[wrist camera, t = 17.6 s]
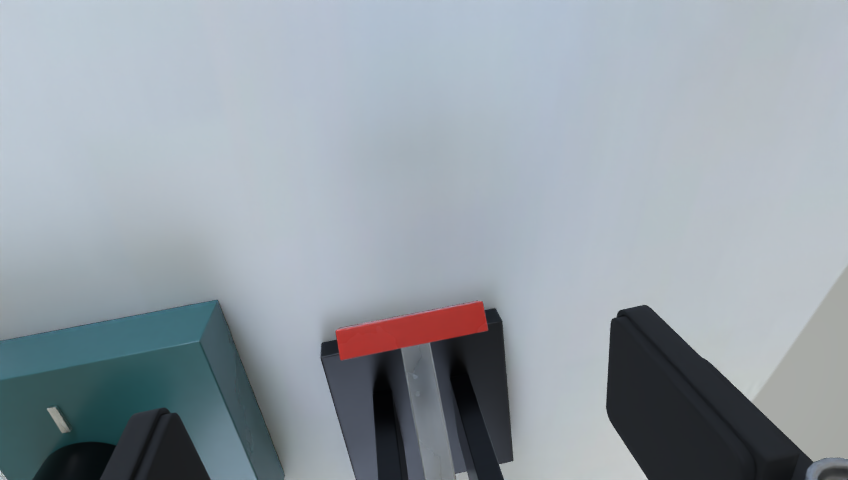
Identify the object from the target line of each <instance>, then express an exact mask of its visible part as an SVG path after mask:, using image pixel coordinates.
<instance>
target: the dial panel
mask: <svg viewBox="0 0 848 480" xmlns="http://www.w3.org/2000/svg"><path fill="white" fill-rule="evenodd" d="M158 408H167V409H168V410H169V411H170V413H177V414H178V415H179V416H180V418H181V420H182V422H183V424H184V426H185V428H186V430H187V432H188V434H189V436H190V438H191V440H192V442H193V444H194V446H195V448H196V451H197V453H198V455H199V457H200V459H201V461H202V463H203V465H204V467H205V469H206V471H207V473H208V475H209V477H210V479H211V480H284V477H285V475H284V472H283V469H282V467H281V464H280V462H279V459H278V456H277V454H276V451H275V449H274V446H273V443H272V441H271V438H270V436H269V433H268V430H267V428H266V425H265V422H264V420H263V417H262V415H261V412H260V409H259V407H258V404H257V402H256V399H255V396H254V394H253V391H252V388H251V386H250V383H249V381H248V378H247V375H246V373H245V370H244V368H243V365H242V362H241V360H240V357H239V354H238V352H237V349H236V347H235V344H234V341H233V339H232V336H231V334H230V331H229V328H228V326H227V323H226V321H225V318H224V315H223V313H222V310H221V307H220V305H219V302H218V300H214V301H208V302H203V303H198V304H193V305H187V306H182V307H177V308H172V309H166V310H161V311H156V312H151V313H145V314H140V315H135V316H130V317H124V318H119V319H114V320H109V321H103V322H98V323H93V324H87V325H82V326H77V327H72V328H66V329H61V330H56V331H51V332H45V333H40V334H35V335H30V336H24V337H19V338H14V339H9V340H3V341H0V470H1V472H2V473H3V474H4V476H5V477H6V478H7V480H32V479H33V478H34V476H35V475H36V473H37V472H38V470H39V469H40V467H41V466H42V464H43V463H44V461H45V460H46V459H47V458H48V457H49V456H50V455H51V454H52V453H53V452H55V451H56V450H58V449H60V448H62V447H65V446H67V445H70V444H74V443H80V442H103V443H108V444H113V445H117V443H118V441H119V439H120V437H121V435H122V433H123V431H124V429H125V427H126V425H127V423H128V421H129V419H130V418H131V416H132V415H133V414H135V413H139V412H144V411H149V410H153V409H158Z"/></svg>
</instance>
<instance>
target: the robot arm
mask: <svg viewBox="0 0 848 480" xmlns="http://www.w3.org/2000/svg"><path fill="white" fill-rule="evenodd" d="M606 409H607V414H608V417H609V419H610V421H611V423H612V425H613V426H614V428H615V429H616V431H617V433H618V434H619V436H620V437H621V439H622V440H623V442H624V443H625V445H626V446H627V448H628V449H629V451H630V452H631V454H632V455H633V457H634V458H635V460H636V461H637V463H638V464H639V466H640V468H641V469H642V471H643V472H644V474H645V475H646V477H647V478H648V480H848V459H844V458H824V459H821V460H818V461H816V462H813V461H812V460H811V459H810V458H809V457H808V456H806V454H804V453H803V452H802V451H801V450H800V449H799V448H798V447H797V446H796V445H795V444H794V443H793V442H792V441H791V440H790V439H789V438H788V437H787V436H786V435H785V434H784V433H783V432H782V431H781V430H779V429H778V428H777V427H776V426H775V425H774V424H773V423H772V422H771V421H770V420H769V419H768V418H767V417H766V416H765V415H764V414H763V413H762V412H761V411H760V410H759V409H758V408H757V407H756V406H755V405H754V404H753V403H751V402H750V401H749V400H748V399H747V398H746V397H745V396H744V395H743V394H742V393H741V392H740V391H739V390H738V389H737V388H736V387H735V386H734V385H733V384H732V383H731V382H730V381H729V380H728V379H727V378H726V377H724V376H723V375H722V374H721V373H720V372H719V371H718V370H717V369H716V368H715V367H714V366H713V365H712V364H711V363H710V362H708V361H707V360H706V359H704V358H702V357H701V356H700V355H699V354H698V353H696V352H695V351H694V350H693V349H692V348H691V347H690V346H689V345H688V344H687V343H686V342H685V341H684V340H683V339H682V338H681V337H680V336H679V335H678V334H677V333H676V332H675V331H674V330H673V329H672V328H671V327H670V326H669V325H668V324H667V323H666V322H665V321H664V320H662V319H661V318H660V317H659V316H658V315H657V314H656V313H655V312H654V311H653V310H652V309H651V308H650V307H648V306H646V305H642V306H637V307H632V308H628V309H623V310H620V311H619V312H618V314H617V318H614V319H612V321H611V328H610V346H609V364H608V382H607V401H606ZM100 480H211V479H210V477H209V475H208V473H207V471H206V469H205V467H204V465H203V463H202V461H201V459H200V457H199V455H198V453H197V451H196V448H195V446H194V444H193V442H192V440H191V438H190V436H189V434H188V432H187V430H186V428H185V426H184V424H183V422H182V420H181V418H180V416H179V415H178V414H177V413H170V411H169V410H168V409H167V408H158V409H153V410H149V411H144V412H139V413H135V414H133V415H132V416H131V418H130V419H129V421H128V423H127V425H126V427H125V429H124V431H123V433H122V435H121V437H120V439H119V441H118V443H117V445H116V447H115V449H114V452H113V454H112V456H111V458H110V460H109V462H108V464H107V466H106V468H105V470H104V472H103V474H102V476H101V478H100Z"/></svg>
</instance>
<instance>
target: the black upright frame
mask: <svg viewBox="0 0 848 480" xmlns="http://www.w3.org/2000/svg"><path fill="white" fill-rule="evenodd" d="M484 311H485V316H486V320H487V325H488V331H485V332H480V333H475V334H470V335H465V336H460V337H455V338H450V339H445V340H440V341H435V342H430V345H431V350H432V356H433V361H434V366H435V371H436V377H437V382H438V387H439V392H440V398H441V403H442V408H443V413H444V419H445V424H446V429H447V434H448V440H449V445H450V450H451V455H452V460H453V466H454V471H455V474H457V473H461V472H466V471H467V473H468V477H469V480H504V478H503V475H502V472H501V469H500V466H499V464H502V463H507V462H511V461H513V450H512V437H511V425H510V412H509V400H508V387H507V375H506V362H505V350H504V337H503V325H502V320H501V318H500V316H499V314H498V312H497V310H496V309H495V308H494V309H489V310H484ZM321 361H322V365H323V368H324V372H325V375H326V378H327V382H328V385H329V389H330V392H331V396H332V399H333V403H334V406H335V409H336V413H337V416H338V420H339V423H340V427H341V430H342V434H343V437H344V440H345V444H346V447H347V451H348V454H349V458H350V461H351V465H352V468H353V471H354V475H355V478H356V480H425V478H424V472H423V467H422V462H421V456H420V451H419V445H418V440H417V435H416V429H415V424H414V418H413V413H412V408H411V402H410V397H409V392H408V386H407V381H406V375H405V370H404V365H403V359H402V354H401V349H396V350H391V351H386V352H381V353H376V354H371V355H366V356H361V357H356V358H351V359H346V360H340V355H339V349H338V344H337V340H334V341H329V342H324V343H322V344H321Z"/></svg>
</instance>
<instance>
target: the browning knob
mask: <svg viewBox="0 0 848 480" xmlns="http://www.w3.org/2000/svg"><path fill="white" fill-rule="evenodd" d="M115 447H116V445H113V444H108V443H103V442H80V443H74V444H70V445H67V446H65V447H62V448H60V449H58V450H56V451H55V452H53V453H52V454H51V455H50V456H49V457H48V458H47V459H46V460H45V461H44V463H43V464H42V466H41V467H40V469H39V470H38V472H37V473H36V475H35V476H34V478H33V479H32V480H100V478H101V476H102V474H103V472H104V470H105V468H106V466H107V464H108V462H109V460H110V458H111V456H112V454H113V452H114V449H115Z"/></svg>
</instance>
